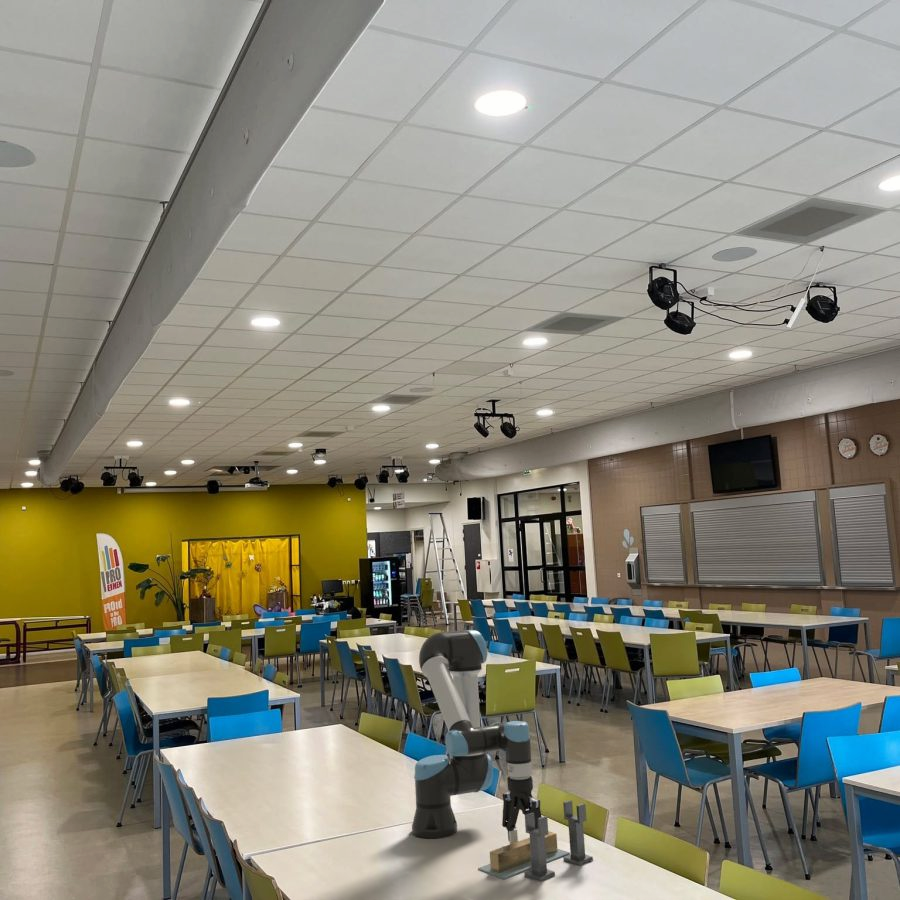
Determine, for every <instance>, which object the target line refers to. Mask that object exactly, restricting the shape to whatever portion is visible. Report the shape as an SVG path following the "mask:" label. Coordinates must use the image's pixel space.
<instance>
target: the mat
mask: <svg viewBox="0 0 900 900" xmlns="http://www.w3.org/2000/svg"><path fill="white" fill-rule="evenodd" d="M557 849H558V851H556V852H554V853H551V854H548V855H546V862H547V864H548V863H550V861H551V862H552V861H555V859H556V860H558V859H561V858H563V857H565V856H568V855H571V853H570V851H567V850H563V849H560V848H557ZM477 870H478V871H481V872H484V873H486V874H489V875H491V876H494V877H497V878H500V879H501V880H506V879H509V878H511V877H513V876H516V875H519V874H521V873H524V872H526V871H529V870H532V865H531V861H530V862H527V863H525V864H522V865H519V866H517V867H514V868H511V869H509V870H506V871H503V872H501V873H497V872H495V871H492V870H491V865H490V863H488V864H486V865H482V866H480V867H478V868H477Z"/></svg>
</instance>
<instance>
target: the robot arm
mask: <svg viewBox="0 0 900 900" xmlns="http://www.w3.org/2000/svg"><path fill="white" fill-rule="evenodd" d="M487 658H488V647H487V643H486V641H485V639H484V637H483V635H482V633H481V632H480V631H478V630H475V629H474V630H473V629H469V630H468V629H464V630H463V629H462V630H455V631H445V632H444V631H441V632H436V633H433V634H432V635H430V636H428V638H426V640H425V641H424V642H423V644H422V645H421V648H420V651H419V655H418V663H419V667H420V671H421V673H422V675H423V676H424V677H426V678H427V680H428V682H429V686H430V687H431V691H432V693H433V696H434V698H435V700H436V703H437V705H438V708H439V711H440V712H441V716H442V717H443V720H444V723H445V725H446V728H447V732H446V734H445V739H444V743H445V748H446V752H447V753H448V754H449V756H451V758H449V757H448V756H447V755H446V754H438V755H437V754H434V755H428V756H426V757H424V758H422V759H419V760H418V761H417V762H416V764H415V765H414V775H413V776H414V787H415V789H414V790H415V805H416V806H415V807H416V808H415V813H414V816H413V821H412V823H411V833H412V835H413V836H415V837H418V838H422V839H439V838H444V837H448V836H452V835H454V834H455V833H457V831H458V824H457V823H458V822H457V819H456V817H455V814H454V811H453V808H452V802H451V796H452V797H453V796H458V795H465V794H471V793H478V792H482V791H486V790H487V789H489V787H490V786H491V784H492V782H493V777H494V764H493V763H492V757H491V756H490V755H489V754H488V753H491V752H499V751H504V752H505V761H506V774H507V775H506V776H508V777H507V778H506V779H507V780H506V781H507V782H506V783H507V790H508V791H507V792H503V793H502V799H503V800H502V801H503V803H502V805H503V806H502V819H501V820H502V822H501V823H502V824H501V825H502V827H503V828H505V830H506V831H507V836H508V837H507V840H508V842H509V845H510V844H513V843H515V842H518V841H519V840H518V839H519V838H518V829H517V821H518V818H519V814H520V811H521V812H522V814H523V815H524V816H525V815H526V814H529V813H532V812H533V813H534V819H535V828H538V818H541V817H543V816H542V811H541V800H540V798H539V799H535V798H533V795H532V792H533V790H534V781H533V776H532V775H533V766H532V754H531V753H532V751H531V733H530V726H529V723H527V721H521V720H513V721H508V722H506V723H504V722H493V723H491V724H490V725H487V726H481V717H480V716H481V715H480V697H479V695H480V694H479V676H478V675H479V673H480V672H481V671H482V669H483V667H482V666H483V664H484V663H486V661H487ZM530 853H531V850H530Z"/></svg>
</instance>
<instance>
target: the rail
mask: <svg viewBox="0 0 900 900" xmlns="http://www.w3.org/2000/svg"><path fill="white" fill-rule="evenodd" d="M545 847H546V855H548V854H551V853H554V852H556V851H558V849H559V848H558V837H557V833H556V832H554V831H553V832H552V831H549V830H548V835H546V836H545ZM530 861H531V853H530V837H528V838H524V839H521V840H518V842H515V843H513V844H510V843H509V844H508V845H505V846H501V847H498V848H496V849H492V850H490V851H489V864H490V865H491V870H492V871H495V872H497V873H501V872H503V871H506V870H509V869H511V868H514V867H517V866H519V865H522V864H525V863H527V862H530Z"/></svg>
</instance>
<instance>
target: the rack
mask: <svg viewBox="0 0 900 900" xmlns="http://www.w3.org/2000/svg"><path fill="white" fill-rule="evenodd" d="M562 803H563V816H564V817H563V819H564V820H566V821H568V837H569V839H568V840H569V849H570V851H569V852H570V854H569V855H566V856H564V857H562V858H563V861H564V862H566V863H568V864H569V863H570V864H572V865H575V866H578V867H579V866H582V865H584V864H587V863H590V862H592V861H594V856H592V855H589V854H586V848H585V846H586V845H585V834H584V823H585V822H587V811H586V810H587V807H586V803H584V802H583V803H580V804H577V805H576V814H574V808H573V799H572V800H571V799H570V800H566V801H563V802H562ZM548 824H549V821H548V816H547V815H544V816H542V817H541V818H538V828H535V819H534V813H533V812H532V813H529V814H526V815H524V825H525V833H526V834H529V838H530V850H531V865H532V869H530V870H527V871H525V872H523V874H524V877H526V878H529V879H532V880H534V881H538V882H539V883H540V882H542V881H545V880H548V879H550V878H553V877H554V876H556V872H555V871H554V870H550V869H548V863H547V862H546V847H545V836H546V835H548V831H549V825H548Z"/></svg>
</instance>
